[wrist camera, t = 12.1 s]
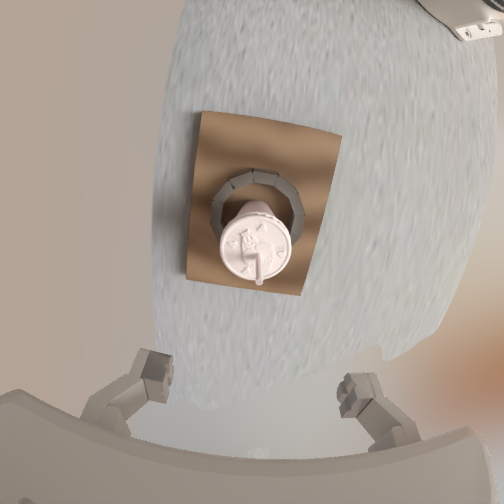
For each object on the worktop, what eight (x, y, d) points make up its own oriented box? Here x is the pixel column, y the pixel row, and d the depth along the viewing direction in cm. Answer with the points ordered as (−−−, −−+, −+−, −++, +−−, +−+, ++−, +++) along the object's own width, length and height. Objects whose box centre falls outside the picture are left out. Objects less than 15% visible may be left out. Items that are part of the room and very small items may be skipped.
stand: (205, 111, 29) (197, 109, 25) (337, 134, 30) (349, 136, 26) (189, 271, 38) (181, 289, 34) (298, 287, 39) (302, 306, 35)
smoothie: (246, 247, 34) (240, 321, 22) (218, 205, 32) (194, 261, 19) (291, 224, 33) (312, 289, 20) (266, 178, 30) (273, 219, 18)
